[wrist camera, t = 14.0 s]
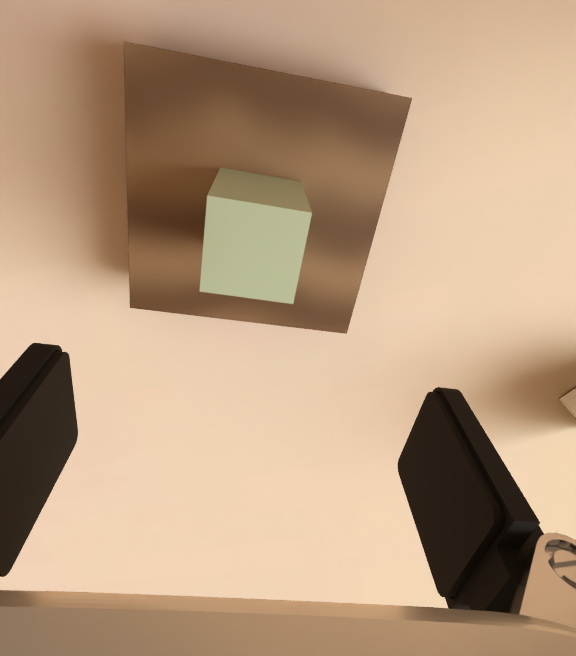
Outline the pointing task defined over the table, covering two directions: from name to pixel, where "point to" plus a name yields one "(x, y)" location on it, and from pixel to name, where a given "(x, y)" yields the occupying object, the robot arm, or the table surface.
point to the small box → (570, 401)
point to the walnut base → (255, 157)
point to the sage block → (254, 236)
